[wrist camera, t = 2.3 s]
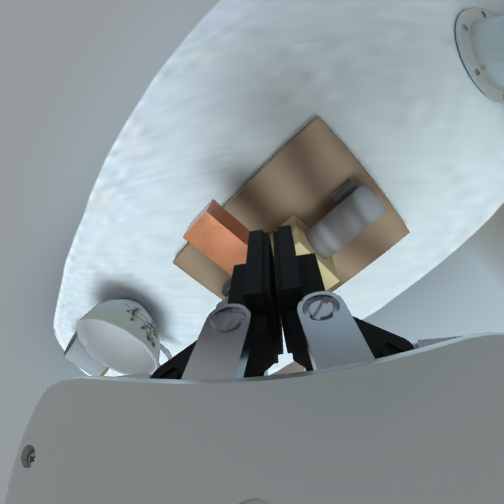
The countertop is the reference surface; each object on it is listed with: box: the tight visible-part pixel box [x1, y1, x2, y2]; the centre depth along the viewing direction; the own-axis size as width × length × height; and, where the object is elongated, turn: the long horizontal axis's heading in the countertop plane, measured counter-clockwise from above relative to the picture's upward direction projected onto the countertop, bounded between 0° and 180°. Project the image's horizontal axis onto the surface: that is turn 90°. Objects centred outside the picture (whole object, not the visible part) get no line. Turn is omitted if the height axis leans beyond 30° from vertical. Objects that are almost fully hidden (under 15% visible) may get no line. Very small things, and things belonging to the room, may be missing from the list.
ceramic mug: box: [64, 331, 109, 376], centre depth 39 cm, size 11×8×8 cm
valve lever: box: [183, 199, 250, 276], centre depth 20 cm, size 12×3×2 cm, turn 47°
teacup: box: [76, 299, 172, 375], centre depth 35 cm, size 15×12×8 cm
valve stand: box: [173, 116, 409, 308], centre depth 26 cm, size 22×16×8 cm
